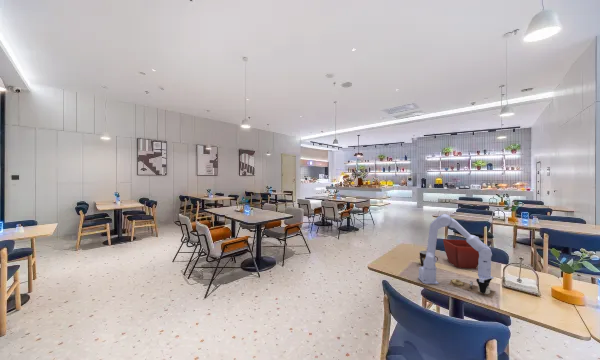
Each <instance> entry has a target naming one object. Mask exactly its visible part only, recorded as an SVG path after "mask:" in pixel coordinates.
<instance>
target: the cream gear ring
mask: <svg viewBox="0 0 600 360" xmlns="http://www.w3.org/2000/svg"><path fill="white" fill-rule="evenodd" d="M477 286H478V291H479V292H480V289H479V285H478V284H477ZM490 290H491V287H490V286H487V288H486V292H485V294H490ZM480 293H481V292H480ZM483 294H484V293H483Z"/></svg>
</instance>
